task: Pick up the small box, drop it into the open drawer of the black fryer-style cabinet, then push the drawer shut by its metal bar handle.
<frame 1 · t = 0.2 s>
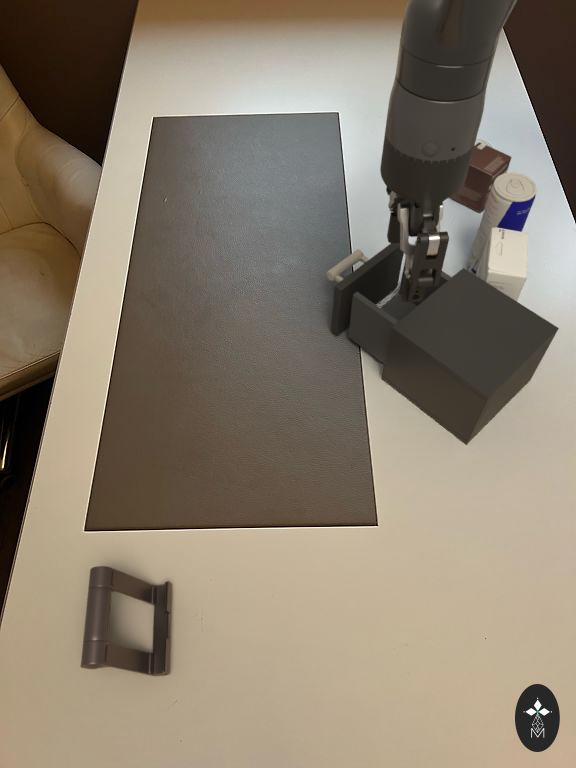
hand: (404, 268, 65), 20 cm above the table, tool pointing down, fingers open, 8 cm apart
beverage can: (485, 270, 92), on the table
ink box: (485, 314, 87), on the table
cabinet: (455, 379, 81), on the table
box: (473, 197, 101), on the table
tablet stand: (134, 634, 64), on the table
drawer: (387, 300, 81), point 5 cm above the table, slide at 8.5 cm
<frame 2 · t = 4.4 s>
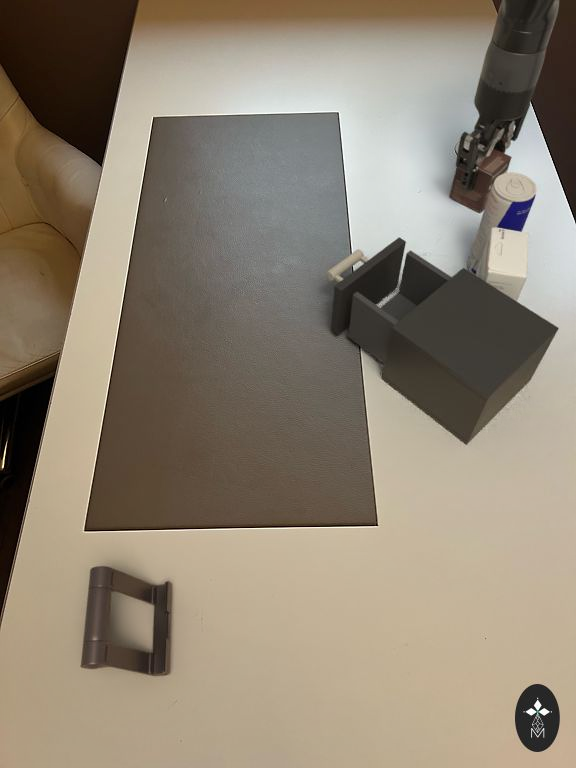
hand: (479, 177, 98), 4 cm above the table, tool pointing down, fingers closed on box, 6 cm apart
box: (473, 197, 101), on the table, touching gripper
everything else where it was.
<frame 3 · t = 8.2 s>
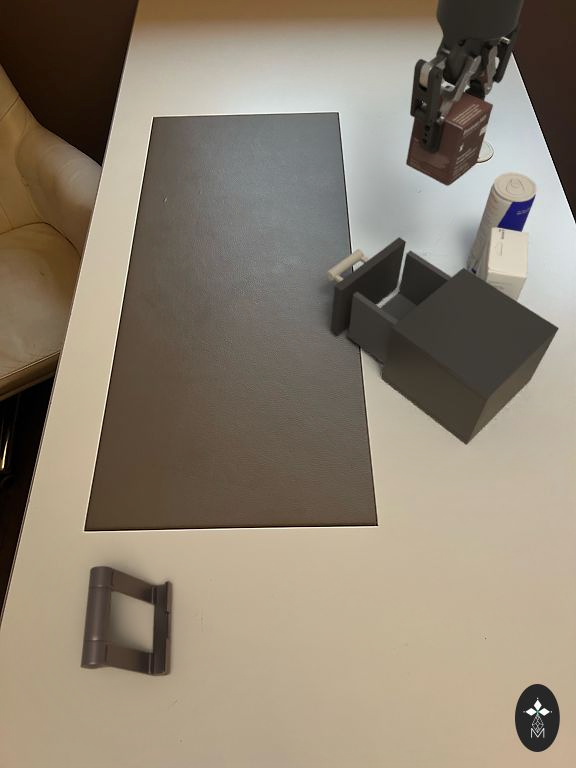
hand: (448, 136, 69), 25 cm above the table, tool pointing down, fingers closed on box, 6 cm apart
box: (440, 166, 72), point 21 cm above the table, touching gripper
everything else where it was.
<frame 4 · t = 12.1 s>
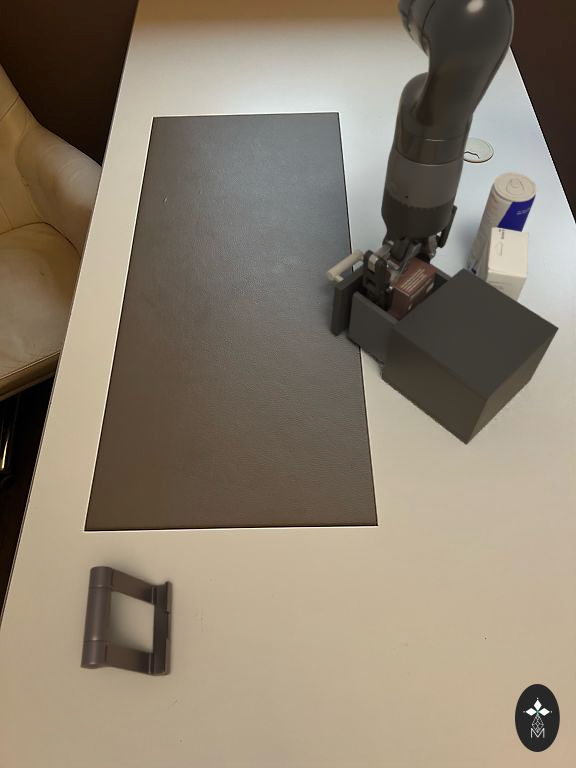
hand: (400, 291, 79), 8 cm above the table, tool pointing down, fingers closed on box, 6 cm apart
box: (395, 311, 82), point 4 cm above the table, touching gripper
everything else where it was.
when the fingers open (9 cm above the table, at t = 18.9 s): box drops 3 cm, resting on drawer.
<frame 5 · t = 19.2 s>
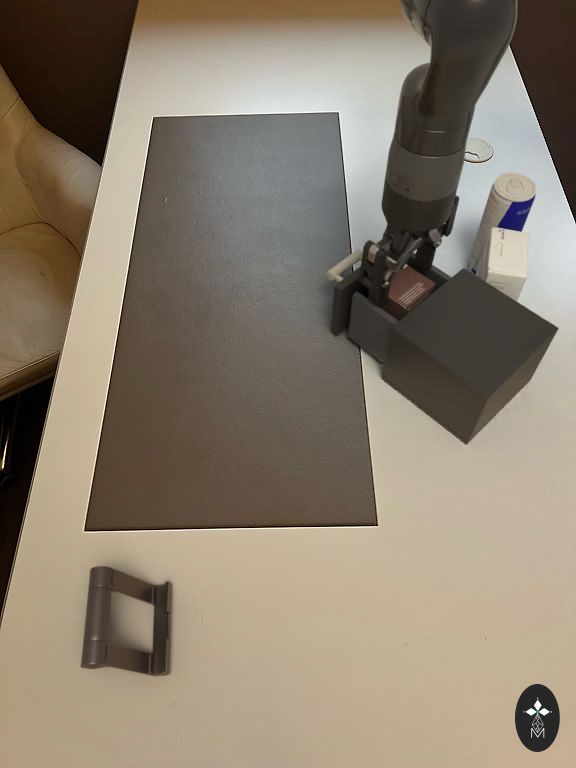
hand: (400, 284, 77), 10 cm above the table, tool pointing down, fingers open, 8 cm apart
box: (394, 322, 84), point 2 cm above the table, touching drawer
drawer: (387, 300, 81), point 5 cm above the table, slide at 8.5 cm, touching box
everything else where it was.
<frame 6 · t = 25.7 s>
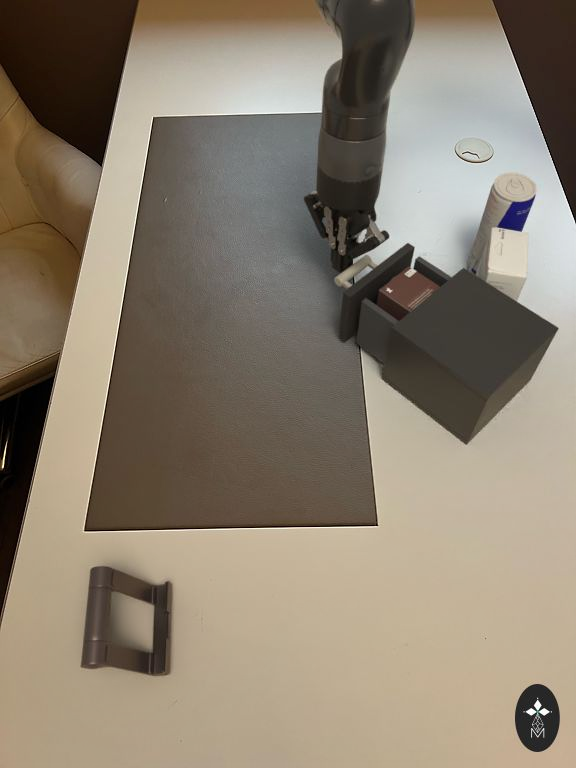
hand: (340, 267, 85), 5 cm above the table, tool pointing down, fingers closed
box: (403, 328, 83), point 2 cm above the table, touching drawer
drawer: (396, 307, 81), point 5 cm above the table, slide at 7.0 cm, touching box, gripper
everything else where it was.
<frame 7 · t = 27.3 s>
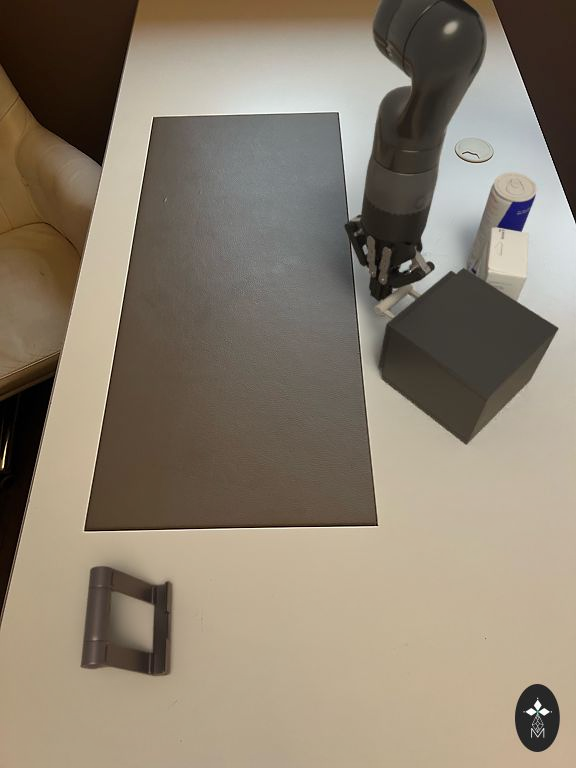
hand: (379, 295, 82), 5 cm above the table, tool pointing down, fingers closed
box: (445, 358, 80), point 2 cm above the table, touching drawer
drawer: (439, 337, 78), point 5 cm above the table, slide at 0.0 cm, touching box, gripper
everything else where it was.
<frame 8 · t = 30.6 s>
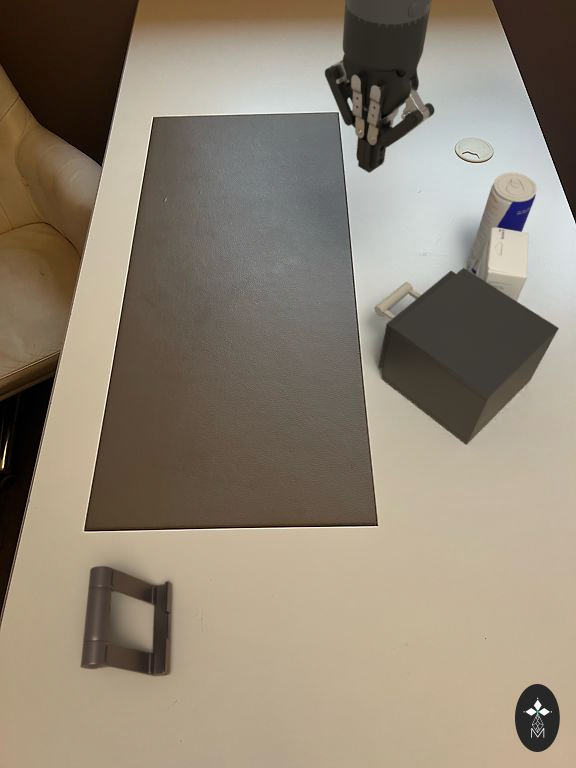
hand: (369, 166, 69), 23 cm above the table, tool pointing down, fingers closed
drawer: (439, 337, 78), point 5 cm above the table, slide at 0.0 cm, touching box
everything else where it was.
at the end: box inside the target area in the cabinet (2.5 cm from its centre), point 1.8 cm above the cabinet's base; drawer slide at 0.0 cm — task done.
